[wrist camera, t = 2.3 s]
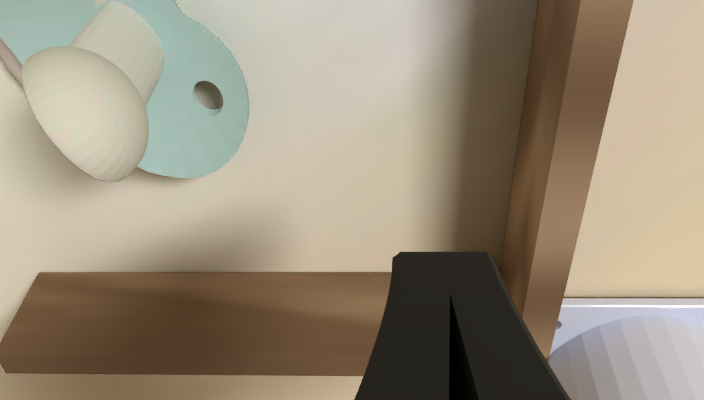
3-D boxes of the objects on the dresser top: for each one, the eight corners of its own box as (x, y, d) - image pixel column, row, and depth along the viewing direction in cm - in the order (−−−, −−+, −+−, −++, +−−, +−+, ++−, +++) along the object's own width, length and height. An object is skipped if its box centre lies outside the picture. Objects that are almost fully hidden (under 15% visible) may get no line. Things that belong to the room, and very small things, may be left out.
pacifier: (127, 171, 21) (287, 95, 19) (44, 330, 16) (244, 253, 14) (-68, -32, 17) (105, -159, 15) (-253, 99, 12) (-40, -59, 10)
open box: (525, 292, 23) (544, 377, 21) (48, 292, 24) (5, 373, 22) (684, -575, 11) (785, -648, 8) (-331, -507, 12) (-550, -554, 9)
